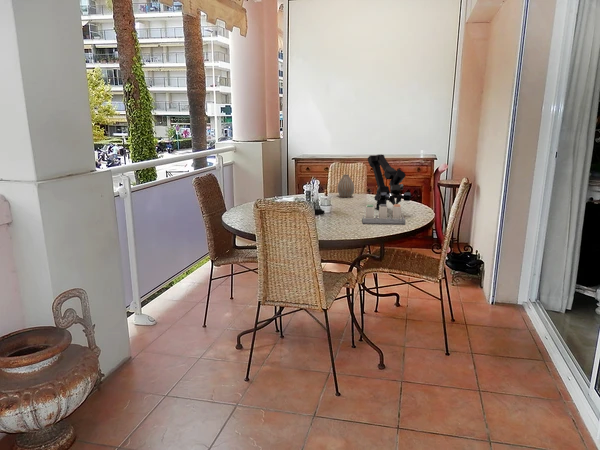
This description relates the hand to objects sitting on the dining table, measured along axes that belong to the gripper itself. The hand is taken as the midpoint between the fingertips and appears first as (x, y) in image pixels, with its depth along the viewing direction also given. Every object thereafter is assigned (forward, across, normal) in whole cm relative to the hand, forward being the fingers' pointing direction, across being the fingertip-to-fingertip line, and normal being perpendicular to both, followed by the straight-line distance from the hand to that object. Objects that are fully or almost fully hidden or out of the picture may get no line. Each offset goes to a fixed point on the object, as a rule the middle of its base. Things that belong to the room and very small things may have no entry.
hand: (395, 207), depth 267 cm
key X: (+10, -8, 0) cm, 13 cm away
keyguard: (+12, -8, -3) cm, 15 cm away
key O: (+10, 0, 0) cm, 10 cm away
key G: (+11, -16, -2) cm, 20 cm away
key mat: (+11, -8, -2) cm, 14 cm away
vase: (-47, -31, +57) cm, 80 cm away
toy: (0, -60, +11) cm, 61 cm away
